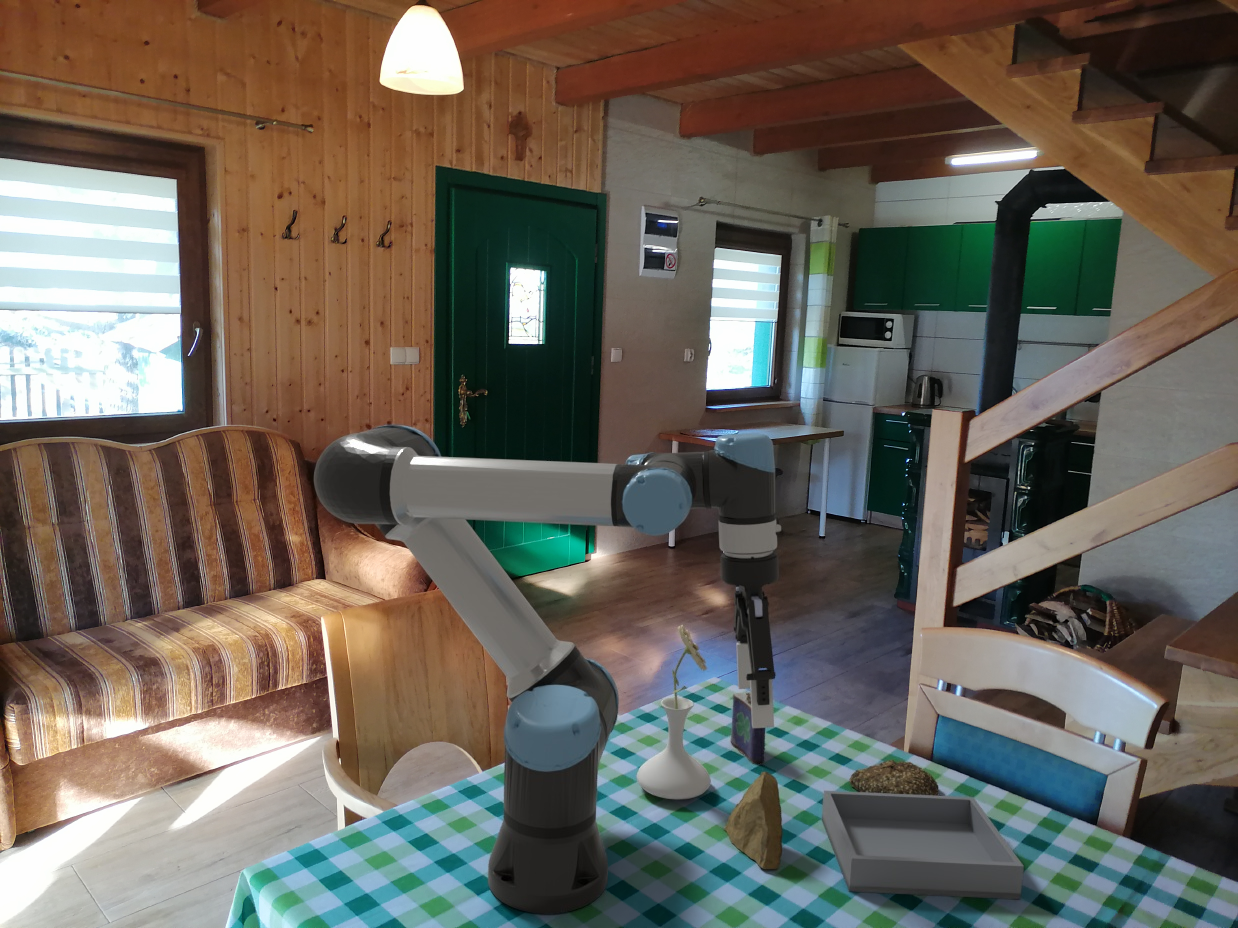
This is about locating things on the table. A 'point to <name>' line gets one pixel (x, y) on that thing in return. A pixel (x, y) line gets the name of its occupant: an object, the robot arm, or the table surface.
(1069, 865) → the table surface
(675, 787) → the flower in vase
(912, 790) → the bread roll
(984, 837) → the bin
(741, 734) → the flask
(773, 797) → the rock
